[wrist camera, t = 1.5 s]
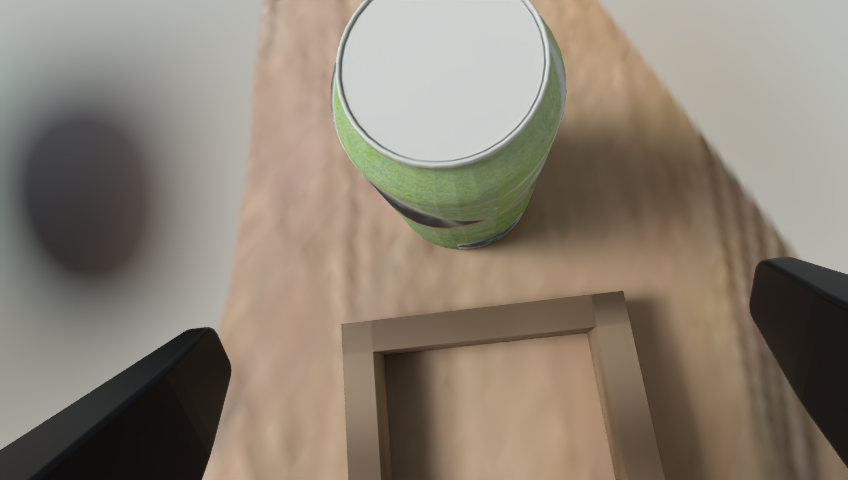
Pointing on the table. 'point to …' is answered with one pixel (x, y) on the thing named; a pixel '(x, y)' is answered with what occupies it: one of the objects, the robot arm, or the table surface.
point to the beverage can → (450, 110)
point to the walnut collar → (494, 324)
